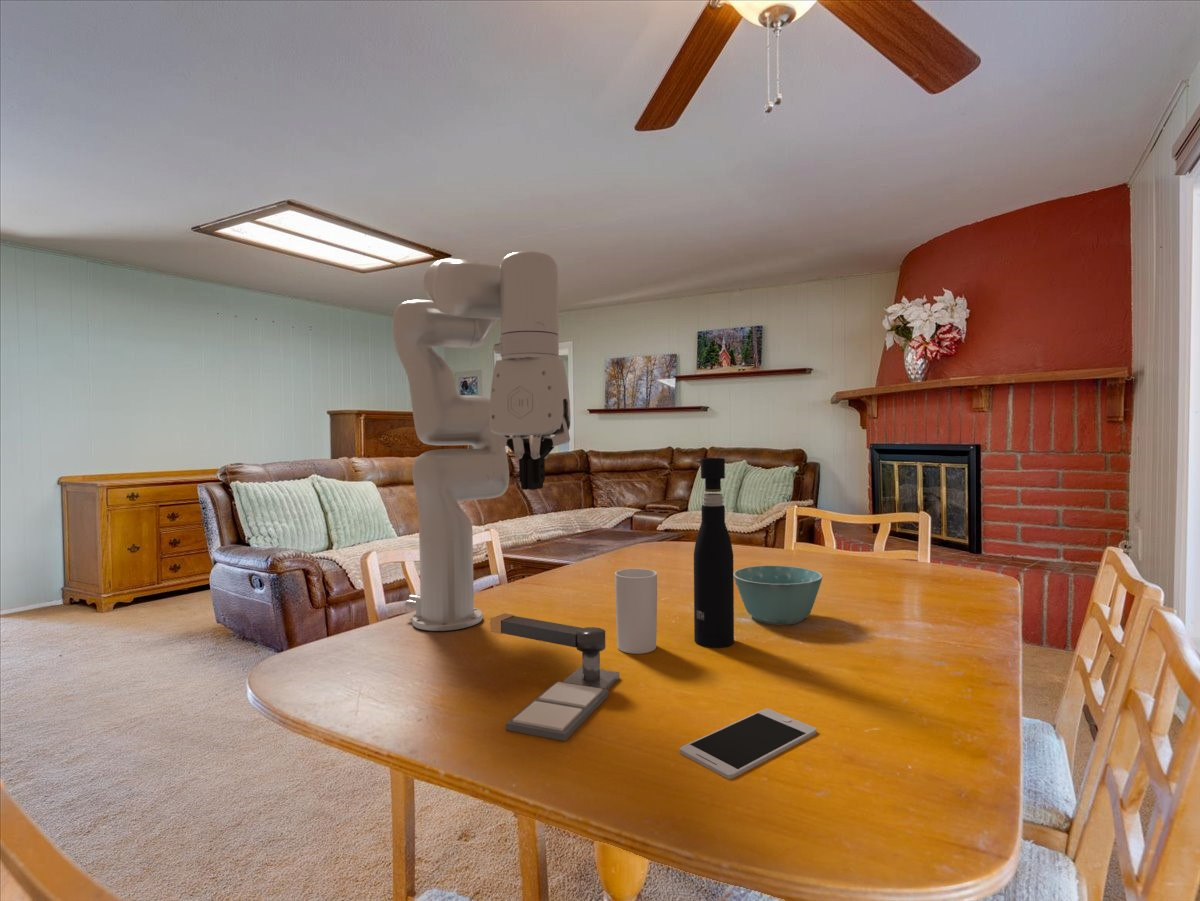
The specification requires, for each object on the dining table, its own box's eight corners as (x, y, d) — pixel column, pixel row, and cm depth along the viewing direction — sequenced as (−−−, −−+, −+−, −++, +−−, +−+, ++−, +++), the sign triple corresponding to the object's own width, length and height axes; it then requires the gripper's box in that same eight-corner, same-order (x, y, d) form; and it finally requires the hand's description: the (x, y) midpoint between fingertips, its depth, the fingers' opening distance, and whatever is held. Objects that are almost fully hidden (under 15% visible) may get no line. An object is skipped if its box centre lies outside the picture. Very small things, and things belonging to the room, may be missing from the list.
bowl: (726, 626, 113) (725, 579, 112) (741, 603, 127) (741, 562, 127) (820, 635, 107) (819, 586, 106) (824, 610, 121) (824, 567, 121)
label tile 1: (506, 730, 74) (505, 720, 74) (533, 707, 80) (533, 698, 80) (565, 741, 71) (564, 731, 71) (588, 716, 77) (588, 707, 77)
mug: (665, 651, 100) (664, 575, 99) (625, 657, 97) (624, 579, 97) (638, 632, 109) (638, 563, 109) (602, 637, 107) (601, 566, 106)
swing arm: (610, 645, 88) (610, 629, 88) (595, 654, 85) (595, 638, 85) (506, 626, 98) (505, 612, 98) (488, 633, 94) (488, 618, 94)
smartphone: (818, 735, 73) (818, 727, 73) (729, 784, 63) (729, 774, 63) (766, 714, 78) (766, 706, 78) (677, 756, 69) (677, 747, 68)
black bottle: (736, 637, 106) (735, 457, 105) (731, 649, 100) (730, 459, 99) (698, 633, 108) (696, 457, 108) (690, 645, 102) (689, 459, 101)
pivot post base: (562, 687, 86) (561, 654, 86) (580, 672, 92) (580, 641, 91) (603, 694, 84) (602, 660, 84) (619, 677, 89) (619, 646, 89)
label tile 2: (532, 707, 80) (532, 698, 80) (556, 687, 86) (556, 679, 86) (588, 717, 77) (588, 708, 77) (608, 695, 83) (608, 687, 83)
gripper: (465, 350, 83) (468, 490, 84) (569, 342, 78) (571, 492, 78) (496, 356, 90) (498, 485, 91) (593, 349, 85) (595, 487, 85)
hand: (532, 488), depth 85 cm, fingers closed
